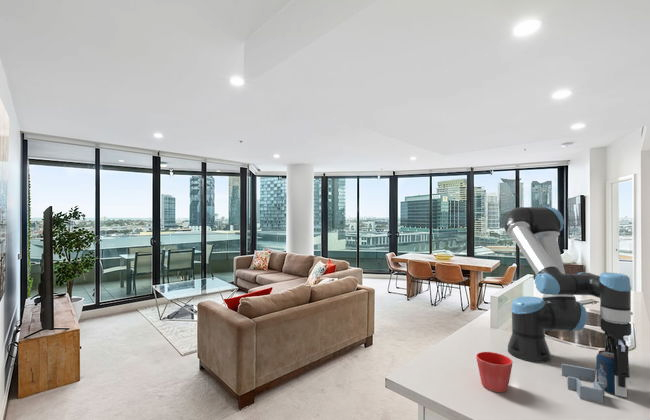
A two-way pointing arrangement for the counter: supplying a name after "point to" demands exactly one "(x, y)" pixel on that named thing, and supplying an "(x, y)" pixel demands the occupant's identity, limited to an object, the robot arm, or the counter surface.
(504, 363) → the flower pot
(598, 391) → the channel
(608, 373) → the soda can
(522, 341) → the robot arm
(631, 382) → the counter surface
